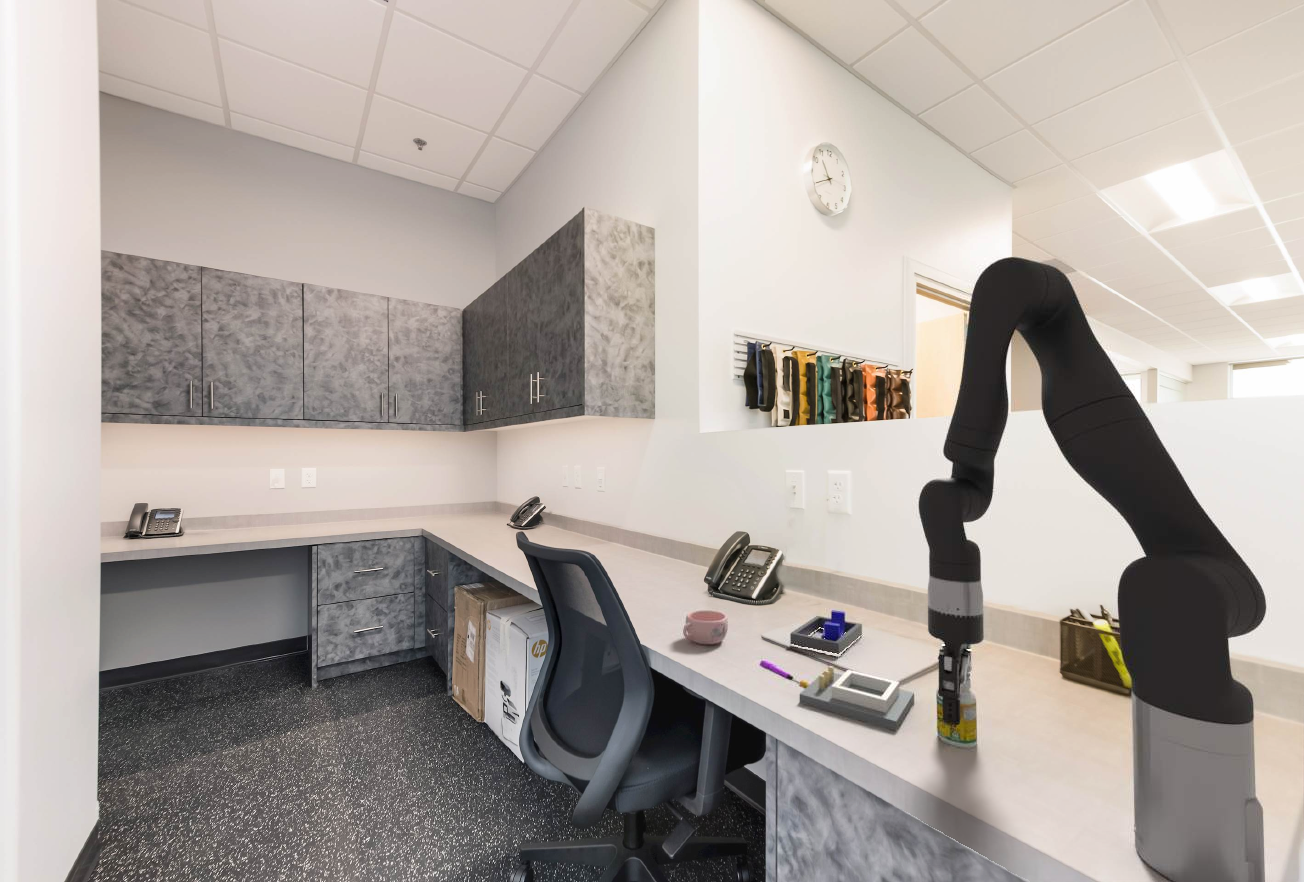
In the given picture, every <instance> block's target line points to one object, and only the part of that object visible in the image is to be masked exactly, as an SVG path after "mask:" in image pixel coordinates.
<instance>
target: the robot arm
mask: <svg viewBox="0 0 1304 882" xmlns="http://www.w3.org/2000/svg"><path fill="white" fill-rule="evenodd" d="M1074 289H1075V288H1074V287H1073V285H1072V283H1071V281H1070V280H1069V278H1068V277H1067V275H1066V274H1065V273H1064V272H1062V270H1061V269H1059V268H1057V267H1055V266H1053V265H1049V264H1047V263H1044V262H1043V263H1042V262H1039V261H1035V260H1032V259H1028V258H1023V257H1017V256H1008V257H1003V258H1000V259H997V260H995V261H994V262H992V263H991V264H989V265H988V266H987V267H986V268H984V270H983V271H982V272H981V273H980V274H979V277H978V278H977V279H976V282H975V284H974V287H973V289H972V293H971V294H972V295H971V299H970V304H969V313H968V319H967V320H968V322H967V330H966V339H965V345H964V347H965V348H964V353H963V354H964V355H963V364H962V370H961V379H960V384H959V388H958V393H957V399H956V402H955V403H956V404H955V406H954V410H953V414H952V417H951V420H950V422H949V423H950V424H949V427H948V430H947V433H946V438H945V440H944V444H943V450H942V451H943V452H942V453H943V456H944V457H945V459H946V460H948V461H949V462H951V463H952V466H951V475H950V477H948V478H945V477H944V478H942V477H941V478H940V477H939V478H935V479H932V480H930V481H928V482H926V484H925V485H924V486H923V487H922V489H921V491H920V493H919V498H918V513H919V519H920V522H921V525H922V529H923V534H924V537H925V540H926V543H927V545H928V550H929V551H928V552H929V554H928V559H929V560H928V565H929V566H928V567H929V568H928V569H929V571H928V574H929V576H928V578H929V579H928V584H927V632H928V634H930V636H932V637H934V638H935V639H938V640H940V641H942V642H943V643H944V644H942V646H941V648H939V652H938V656H937V660H938V687H939V689H938V688H937V689H938V693H939V696H942V697H943V720H944V721H945V722H946V723H950V724H954V725H959V724H960V698H961V687H962V686H964V685H965V684H966V676H967V677H969V678H970V677H971V671H972V669H973V668H972V667H973V665H972V657H973V652H972V649H971V645H976V644H980V643H982V642H983V641H984V637H985V635H984V634H985V633H984V631H985V630H984V627H985V625H984V593H983V586H982V574H981V573H982V571H981V570H982V568H981V566H982V561H981V550H980V547H979V546H978V545H979V544H977V543H976V542H975V541H973V540H972V539H971V540H970V539H967V535H966V530H965V523H972V522H975V521H977V520H980V519H981V518H982V517H984V515H985V514H986V513H987V511H988V509H989V507H990V505H991V502H992V499H993V494H994V482H995V459H996V456H997V453H998V451H999V448H1000V445H1001V441H1002V439H1003V438H1002V437H1003V436H1004V433H1005V429H1006V425H1007V423H1008V417H1009V404H1010V403H1009V393H1008V383H1007V359H1008V358H1007V357H1008V353H1009V348H1010V344H1011V341H1012V338H1013V335H1014V334H1015V332H1016V331H1017V332H1018V333H1019V334H1020V336H1021V337H1022V338H1023V339H1024V341H1025V342H1026V344H1027V345H1028V347H1029V348H1030V351H1031V352H1032V354H1033V355H1034V357H1035V360H1036V361H1037V363H1038V366H1039V369H1040V375H1041V393H1040V394H1041V409H1042V414H1043V417H1044V420H1045V423H1046V425H1047V427H1048V429H1049V431H1050V433H1051V435H1052V437H1053V440H1054V442H1055V443H1056V444H1057V446H1058V449H1059V451H1060V452H1061V454H1062V456H1063V457H1064V459H1065V460H1066V462H1067V463H1068V464H1069V465H1070V467H1071V468H1072V469H1073V471H1074V472H1076V473H1077V475H1078V476H1079V477H1081V479H1082V480H1083V481H1084V482H1086V484H1088V485H1089V487H1091V488H1092V489H1093V490H1094V491H1095V492H1096V493H1097V494H1098V495H1100V496H1101V497H1102V498H1103V499H1104V500H1105V501H1106V502H1107V503H1109V504H1110V506H1112V507H1113V508H1114V509H1115V510H1116V511H1117V513H1119V515H1120V516H1121V517H1122V518H1123V519H1124V521H1125V522H1126V524H1128V526H1129V527H1130V529H1131V531H1132V532H1133V534H1134V535H1135V537H1136V539H1137V540H1138V543H1139V545H1140V547H1141V549H1142V551H1143V553H1144V555H1145V556H1142V557H1140V558H1136V559H1135V560H1133V561H1131V562H1130V563H1129V564H1128V565H1127V566H1126V567H1125V568H1124V570H1123V571H1122V573H1121V575H1120V579H1119V582H1118V586H1117V587H1118V588H1117V613H1118V614H1117V615H1118V627H1119V628H1118V629H1119V638H1120V640H1119V642H1120V652H1121V659H1122V661H1123V664H1124V666H1125V669H1126V671H1127V672H1128V675H1129V677H1130V681H1131V717H1132V718H1131V719H1132V720H1131V721H1132V722H1131V724H1132V730H1131V731H1132V765H1133V766H1132V767H1133V810H1134V811H1133V812H1134V813H1133V814H1134V822H1133V823H1134V824H1133V831H1134V847H1135V850H1136V852H1137V854H1138V855H1139V856H1140V858H1141V859H1142V860H1143V861H1144V862H1145V863H1146V864H1147V865H1148V866H1150V867H1151V868H1152V869H1154V870H1155V871H1156V872H1157V873H1158V874H1159V873H1160V875H1162V876H1164V877H1165V878H1167V879H1169V880H1171V881H1172V882H1266V867H1265V836H1264V835H1265V834H1264V832H1265V830H1264V826H1265V825H1264V808H1263V806H1262V803H1260V801H1259V799H1258V797H1257V795H1256V794H1257V793H1256V792H1257V791H1256V766H1255V765H1256V762H1255V761H1256V759H1255V757H1256V756H1255V726H1254V724H1255V723H1254V722H1255V721H1254V718H1255V712H1254V711H1255V710H1254V698H1253V695H1252V693H1251V691H1250V689H1249V688H1248V687H1246V686H1245V685H1244V684H1243V683H1241V682H1240V681H1238V680H1236V679H1234V678H1233V674H1232V670H1231V669H1232V668H1231V657H1230V647H1229V646H1230V644H1229V639H1232V638H1236V637H1240V636H1245V635H1247V634H1249V633H1251V632H1253V631H1255V630H1256V629H1257V628H1258V627H1259V626H1260V625H1261V624H1262V622H1263V621H1264V618H1265V615H1266V612H1267V603H1266V602H1267V601H1266V595H1265V592H1264V589H1263V588H1262V585H1261V584H1260V582H1259V580H1258V579H1257V577H1256V575H1255V574H1254V572H1253V571H1252V570H1251V568H1250V567H1249V566H1248V564H1247V563H1246V562H1245V561H1244V559H1243V558H1242V557H1241V556H1240V554H1239V553H1238V552H1237V551H1236V549H1235V548H1234V547H1233V546H1232V544H1231V543H1230V542H1229V540H1228V539H1227V538H1226V537H1225V535H1224V534H1223V533H1222V532H1221V530H1220V529H1219V528H1218V526H1217V525H1216V524H1215V522H1214V521H1213V520H1212V519H1211V517H1210V516H1209V515H1208V514H1207V512H1206V511H1205V509H1204V508H1203V507H1202V505H1201V504H1200V503H1199V501H1198V500H1197V498H1196V496H1195V495H1194V493H1193V492H1192V490H1191V488H1190V487H1189V484H1188V482H1186V480H1185V478H1184V476H1183V474H1182V473H1181V471H1180V469H1179V468H1178V466H1177V465H1176V463H1175V461H1174V460H1173V458H1172V456H1171V455H1170V453H1169V451H1168V449H1166V447H1165V445H1164V444H1163V442H1162V441H1161V439H1160V437H1159V435H1158V433H1157V432H1156V430H1155V428H1154V426H1153V424H1152V422H1151V421H1150V419H1149V417H1148V415H1146V413H1145V411H1144V410H1143V408H1142V406H1141V405H1140V403H1139V402H1138V400H1137V398H1136V396H1135V395H1134V393H1133V392H1132V390H1131V389H1130V388H1129V386H1128V385H1127V383H1126V382H1125V380H1124V379H1123V377H1122V375H1120V373H1119V371H1118V369H1117V368H1116V366H1115V364H1114V363H1113V361H1112V360H1111V359H1110V358H1111V357H1109V355H1108V354H1107V352H1106V351H1105V350H1104V348H1103V346H1101V343H1100V342H1099V341H1098V339H1097V337H1096V335H1095V334H1094V332H1093V330H1092V328H1091V326H1090V323H1089V322H1088V319H1087V317H1086V315H1085V312H1084V310H1083V308H1082V304H1081V303H1080V301H1079V298H1078V296H1077V294H1076V291H1075V290H1074ZM948 682H950V683H953V684H954V690H950V689H946V685H947V683H948Z"/></svg>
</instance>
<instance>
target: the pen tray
mask: <svg viewBox="0 0 1304 882" xmlns="http://www.w3.org/2000/svg"><path fill="white" fill-rule="evenodd" d="M825 622H831V617H825V616H820V615H816V616H815V617H813V618H812V619H810V620H808V621H807V622H805V623H804V624H802V625H801V626H799V627H798V628H796V629H795V630H793V631H791V632H790V635H789V636H790V643H789V644H794V645H798V646H801V647H808V648H813V649H817V650H822V651H827V652H832V653H837V654H839V653H840V652H842V651H843V650H844V649H845V648H846V647H848V646H849V645H850V644H851V643H852V642H853V641H855V640H856V639H857V638H858V637H859V636H861V635H862V636H863V623H856V622H852V621H847V620H845V632H846V633H845V634H844V635H843V636H842V637H840V638H839V639H838V640H837V641H832V640H827V639H822V637H817V636H813V635H811V636H808V635H810V634H811V633H812V632H814V631H815V630H817V629H818V628H819V627H821V628H824V624H825Z"/></svg>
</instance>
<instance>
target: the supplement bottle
mask: <svg viewBox="0 0 1304 882" xmlns="http://www.w3.org/2000/svg"><path fill="white" fill-rule="evenodd" d="M971 687H972V686H971V678H970V677H967V676H966V684H965V685H964V686H962V687H961V698H960V724H959V725H954V724H950V723H946V722H945V721H944V720H943V697H942V696H939V693H938V689H939V686H938V688H937V689H936V694H935V695H936V697H935V698H936V728H937V729H936V732H937V736H938V738H939V739H940V740H941V741H942V742H944V743H946V744H948V745H950V746H955V747H958V748H963V749H964V748H965V749H968V748H969V749H971V748H974V747H975V746H976V745H977V743H978V728H977V727H978V726H977V725H978V720H977V717H978V715H977V697H976V695H975V693H974V692H973V691H971ZM946 689H950V690H954V684H953V683H950V682H948V683H947V685H946Z"/></svg>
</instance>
